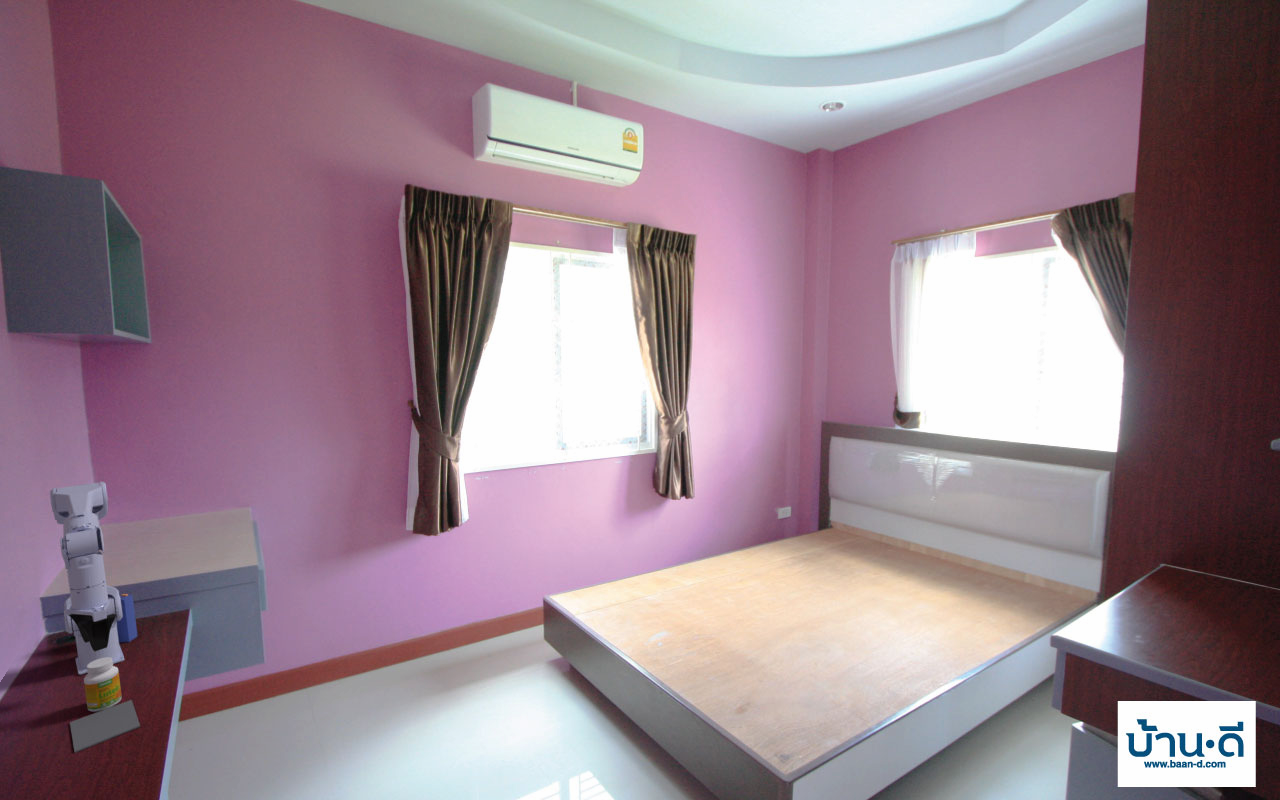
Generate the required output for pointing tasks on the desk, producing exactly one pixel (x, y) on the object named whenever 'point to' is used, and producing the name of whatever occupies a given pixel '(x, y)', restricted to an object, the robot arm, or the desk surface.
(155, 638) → the desk surface
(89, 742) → the mat
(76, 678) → the desk surface
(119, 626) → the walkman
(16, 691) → the desk surface
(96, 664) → the supplement bottle
